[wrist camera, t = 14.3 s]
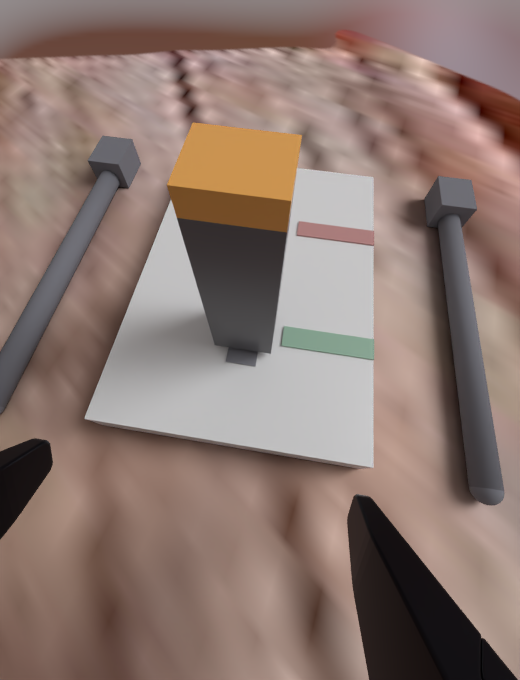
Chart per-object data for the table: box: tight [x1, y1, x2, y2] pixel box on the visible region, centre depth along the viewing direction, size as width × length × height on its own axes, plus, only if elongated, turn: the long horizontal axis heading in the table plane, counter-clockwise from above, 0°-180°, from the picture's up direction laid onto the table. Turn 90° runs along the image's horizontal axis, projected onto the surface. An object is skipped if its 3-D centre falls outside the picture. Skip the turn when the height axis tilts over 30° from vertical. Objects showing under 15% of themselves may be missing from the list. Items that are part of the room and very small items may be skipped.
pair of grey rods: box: [0, 136, 504, 505], centre depth 19 cm, size 22×28×2 cm
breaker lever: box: [167, 123, 302, 354], centre depth 12 cm, size 2×3×10 cm
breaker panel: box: [84, 168, 374, 469], centre depth 19 cm, size 20×14×2 cm
